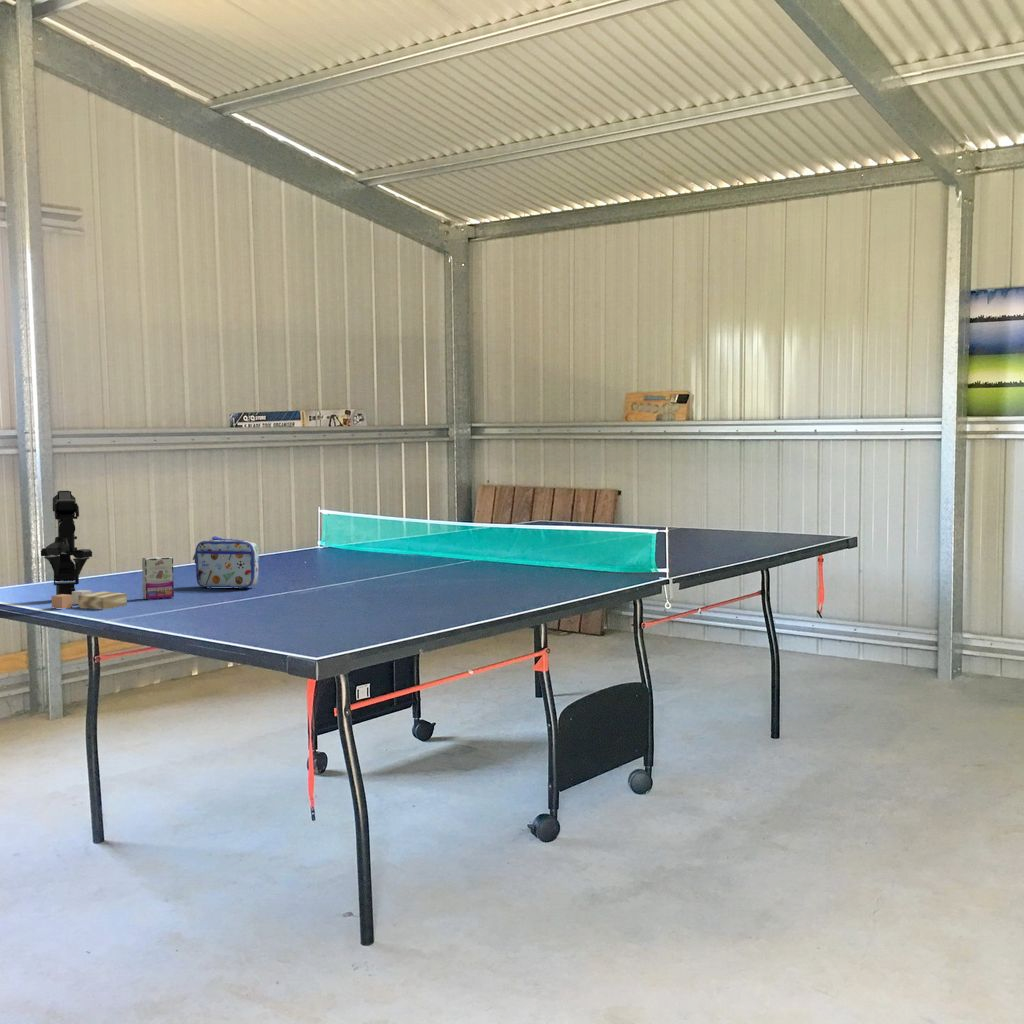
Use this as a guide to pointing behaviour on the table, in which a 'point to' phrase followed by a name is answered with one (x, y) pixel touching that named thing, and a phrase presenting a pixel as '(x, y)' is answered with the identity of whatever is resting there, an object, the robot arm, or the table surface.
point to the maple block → (102, 600)
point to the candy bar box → (157, 577)
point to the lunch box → (226, 563)
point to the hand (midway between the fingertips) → (66, 575)
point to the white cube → (79, 592)
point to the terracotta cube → (62, 601)
